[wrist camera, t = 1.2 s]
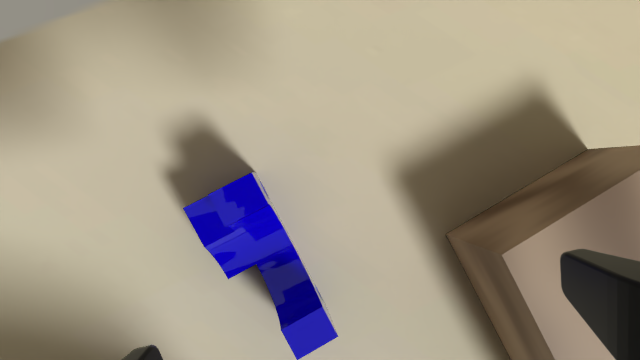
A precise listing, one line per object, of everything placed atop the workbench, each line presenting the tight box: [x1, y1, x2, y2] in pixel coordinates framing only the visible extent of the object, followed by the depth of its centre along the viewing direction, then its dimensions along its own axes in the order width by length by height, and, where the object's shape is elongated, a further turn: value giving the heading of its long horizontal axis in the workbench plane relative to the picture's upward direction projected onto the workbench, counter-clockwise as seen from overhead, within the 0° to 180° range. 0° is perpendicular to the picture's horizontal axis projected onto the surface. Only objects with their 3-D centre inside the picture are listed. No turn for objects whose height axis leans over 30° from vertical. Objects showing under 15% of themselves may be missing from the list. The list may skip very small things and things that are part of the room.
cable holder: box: [183, 172, 338, 360], centre depth 17 cm, size 8×4×4 cm, turn 27°
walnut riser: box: [446, 146, 640, 360], centre depth 19 cm, size 10×12×5 cm
